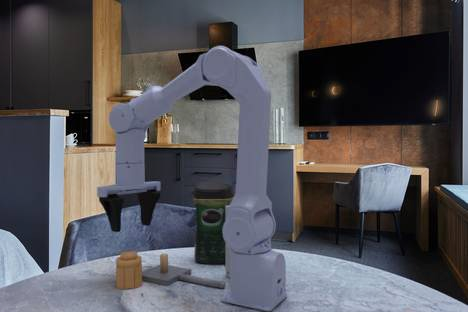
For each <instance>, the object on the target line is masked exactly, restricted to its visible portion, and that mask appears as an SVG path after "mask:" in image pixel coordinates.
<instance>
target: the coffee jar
mask: <svg viewBox="0 0 468 312" xmlns="http://www.w3.org/2000/svg"><path fill="white" fill-rule="evenodd" d="M193 190H194V192H193V200H192V201H193V204H194V207H195V212H196V213H195V214H196V215H195V216H196V218H195V220H196V221H195V223H196V224H195V225H196V227H195V238H194V252H193V253H194V255H193V256H194V260H195V261H196V262H197V263H203V264H214V265H215V264H217V265H218V264H226V242H225V240H224V238H223V232H222V231H223V225H224V223H225V221H226V218H225V215H226V213H225V206H228V205H230V203H231V201H232V200H233V198H234V196H235V193H234V187H233V183H232V182H228V181H206V182H205V181H203V182H198V183H196V184H195V186H194V188H193Z"/></svg>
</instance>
